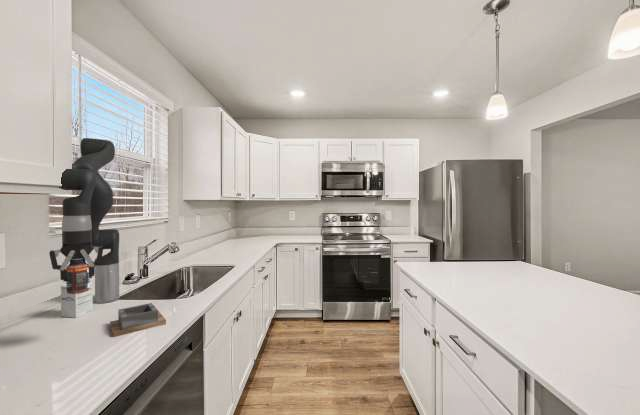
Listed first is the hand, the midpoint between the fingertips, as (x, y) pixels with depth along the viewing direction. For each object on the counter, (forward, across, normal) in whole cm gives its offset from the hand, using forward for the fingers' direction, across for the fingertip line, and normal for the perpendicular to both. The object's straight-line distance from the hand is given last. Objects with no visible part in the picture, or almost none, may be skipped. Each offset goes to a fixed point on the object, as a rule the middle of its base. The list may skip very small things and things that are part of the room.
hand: (77, 279), depth 96 cm
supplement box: (+21, 0, -29) cm, 35 cm away
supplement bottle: (+4, 0, 0) cm, 4 cm away
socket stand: (+20, -17, 0) cm, 26 cm away
